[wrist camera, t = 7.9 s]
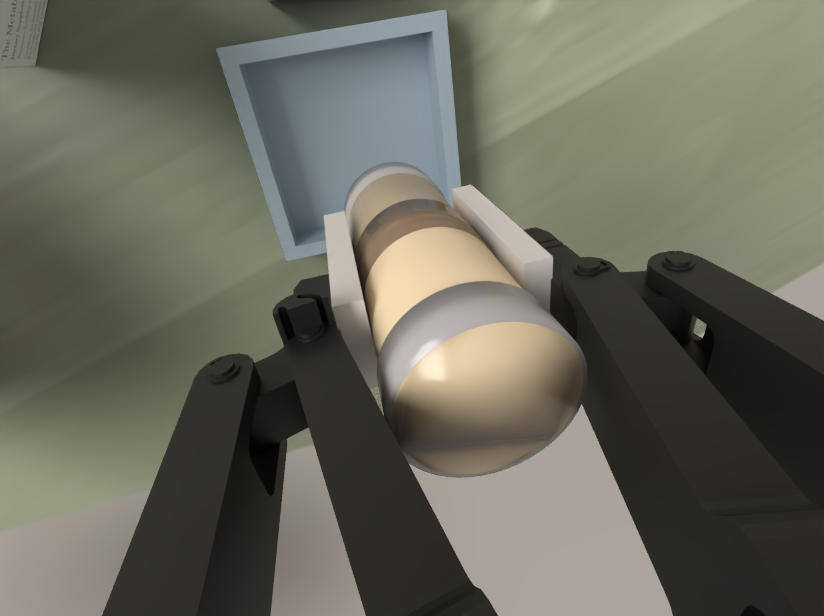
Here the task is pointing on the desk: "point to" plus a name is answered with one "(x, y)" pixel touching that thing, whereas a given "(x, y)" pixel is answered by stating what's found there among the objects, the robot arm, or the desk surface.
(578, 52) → the desk surface
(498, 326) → the fuse
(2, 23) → the supplement box
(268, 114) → the parts tray
